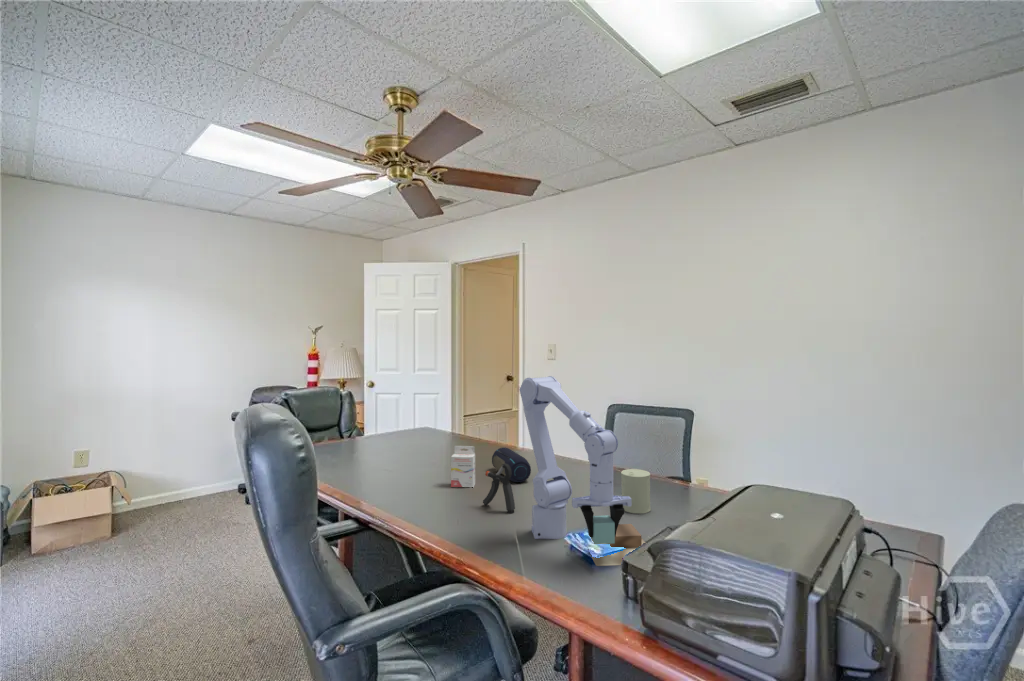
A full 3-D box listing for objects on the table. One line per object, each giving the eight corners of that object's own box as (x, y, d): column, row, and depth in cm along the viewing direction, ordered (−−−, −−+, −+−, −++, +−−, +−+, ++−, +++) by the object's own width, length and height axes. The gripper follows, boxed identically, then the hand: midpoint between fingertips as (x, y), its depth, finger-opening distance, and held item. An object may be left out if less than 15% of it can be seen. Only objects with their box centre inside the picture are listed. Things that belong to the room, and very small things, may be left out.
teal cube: (594, 544, 116) (594, 523, 116) (589, 535, 121) (589, 515, 121) (614, 543, 116) (614, 522, 116) (609, 535, 121) (608, 515, 121)
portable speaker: (489, 470, 203) (489, 446, 203) (511, 468, 206) (511, 444, 206) (509, 486, 179) (508, 459, 179) (533, 483, 183) (533, 457, 183)
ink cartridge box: (450, 488, 178) (450, 448, 178) (453, 484, 182) (453, 445, 183) (473, 488, 177) (473, 448, 177) (475, 484, 182) (475, 445, 182)
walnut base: (610, 548, 122) (610, 536, 122) (602, 536, 130) (602, 524, 130) (641, 547, 122) (641, 535, 122) (631, 534, 130) (631, 523, 130)
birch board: (596, 570, 112) (596, 565, 112) (579, 539, 130) (579, 535, 130) (662, 567, 113) (662, 563, 113) (637, 536, 131) (637, 533, 131)
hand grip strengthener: (486, 504, 159) (486, 458, 160) (515, 512, 151) (515, 464, 152) (481, 505, 158) (481, 460, 158) (511, 514, 150) (510, 466, 150)
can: (615, 508, 154) (615, 471, 154) (631, 502, 160) (630, 466, 160) (641, 515, 147) (640, 476, 147) (656, 508, 154) (655, 471, 154)
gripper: (575, 486, 114) (576, 543, 114) (635, 484, 115) (635, 541, 115) (570, 477, 121) (570, 531, 121) (626, 476, 122) (626, 529, 122)
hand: (601, 535), depth 119 cm, fingers closed on teal cube, 5 cm apart
